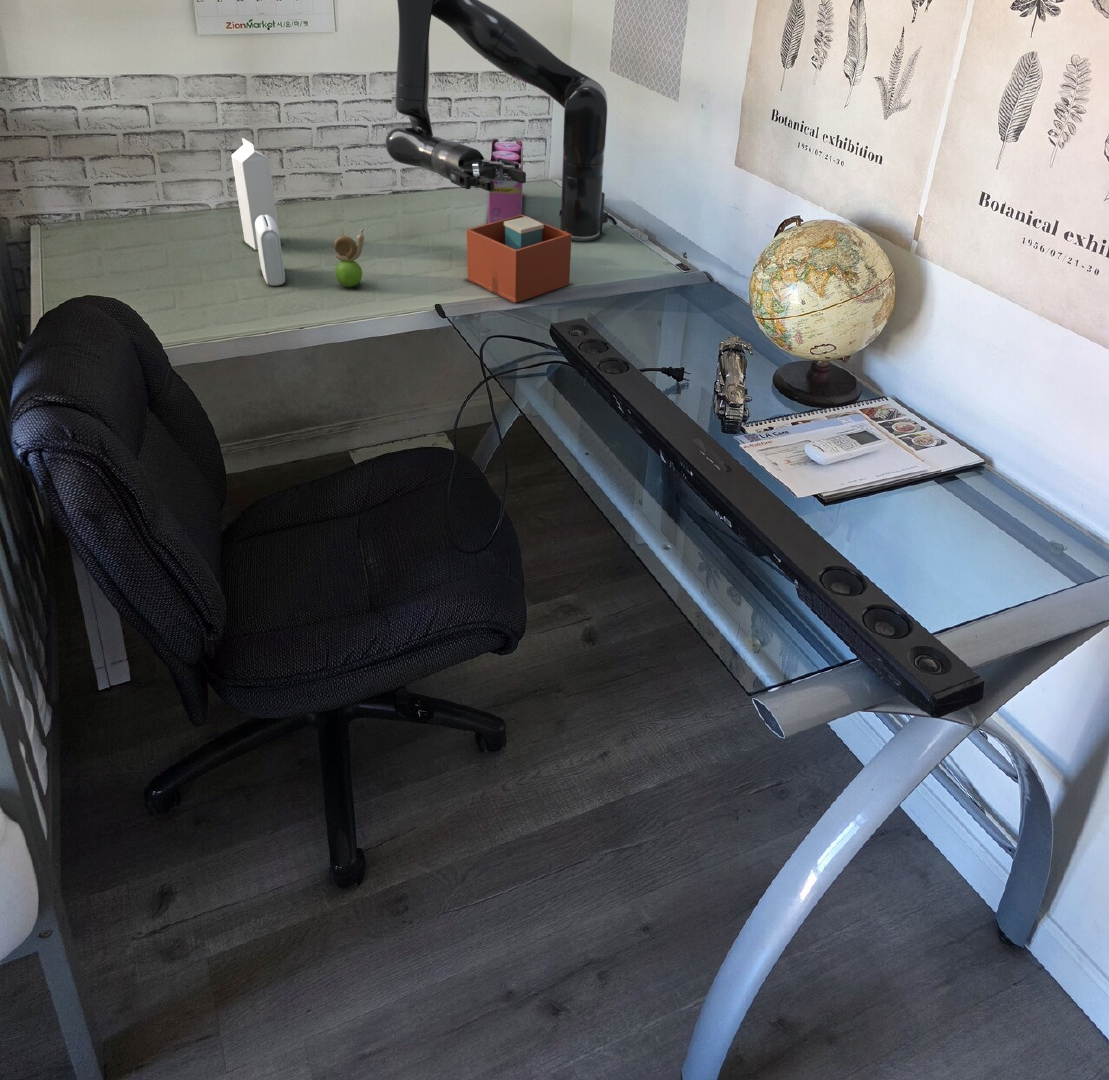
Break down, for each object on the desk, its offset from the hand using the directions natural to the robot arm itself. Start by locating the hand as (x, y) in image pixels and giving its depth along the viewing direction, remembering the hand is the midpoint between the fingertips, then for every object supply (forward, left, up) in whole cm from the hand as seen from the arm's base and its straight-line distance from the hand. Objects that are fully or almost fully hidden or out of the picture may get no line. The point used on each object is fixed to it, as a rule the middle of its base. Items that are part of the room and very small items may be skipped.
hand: (508, 182), depth 199 cm
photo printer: (+38, -31, -20) cm, 53 cm away
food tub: (-2, +2, -19) cm, 19 cm away
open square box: (0, +3, -20) cm, 20 cm away
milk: (+30, -49, -20) cm, 61 cm away
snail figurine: (+28, -17, -20) cm, 38 cm away
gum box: (-28, -33, -20) cm, 48 cm away
